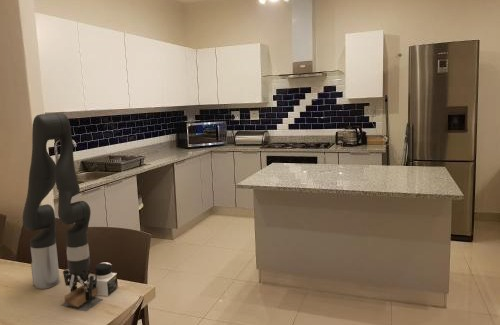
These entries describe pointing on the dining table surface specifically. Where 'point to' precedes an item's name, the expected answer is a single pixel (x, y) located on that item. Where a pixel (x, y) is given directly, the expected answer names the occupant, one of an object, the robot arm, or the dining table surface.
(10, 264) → the dining table surface
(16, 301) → the dining table surface
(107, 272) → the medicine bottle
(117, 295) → the dining table surface
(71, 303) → the lid
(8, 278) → the dining table surface
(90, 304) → the mat
